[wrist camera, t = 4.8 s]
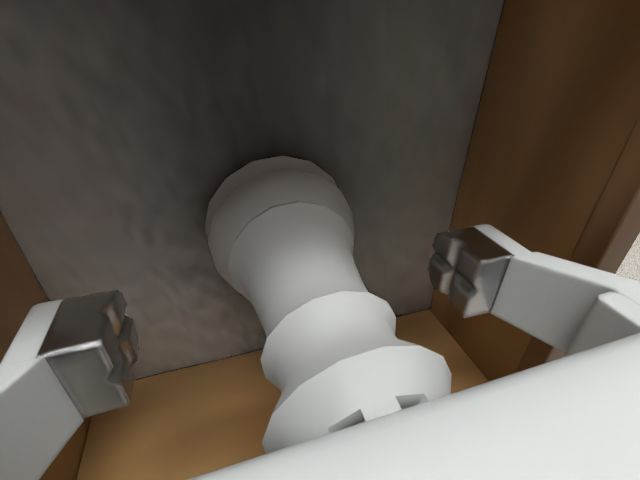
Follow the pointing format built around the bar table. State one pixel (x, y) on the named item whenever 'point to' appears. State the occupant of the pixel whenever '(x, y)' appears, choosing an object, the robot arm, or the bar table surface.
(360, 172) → the bar table surface
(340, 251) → the rook chess piece
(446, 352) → the open wooden box
